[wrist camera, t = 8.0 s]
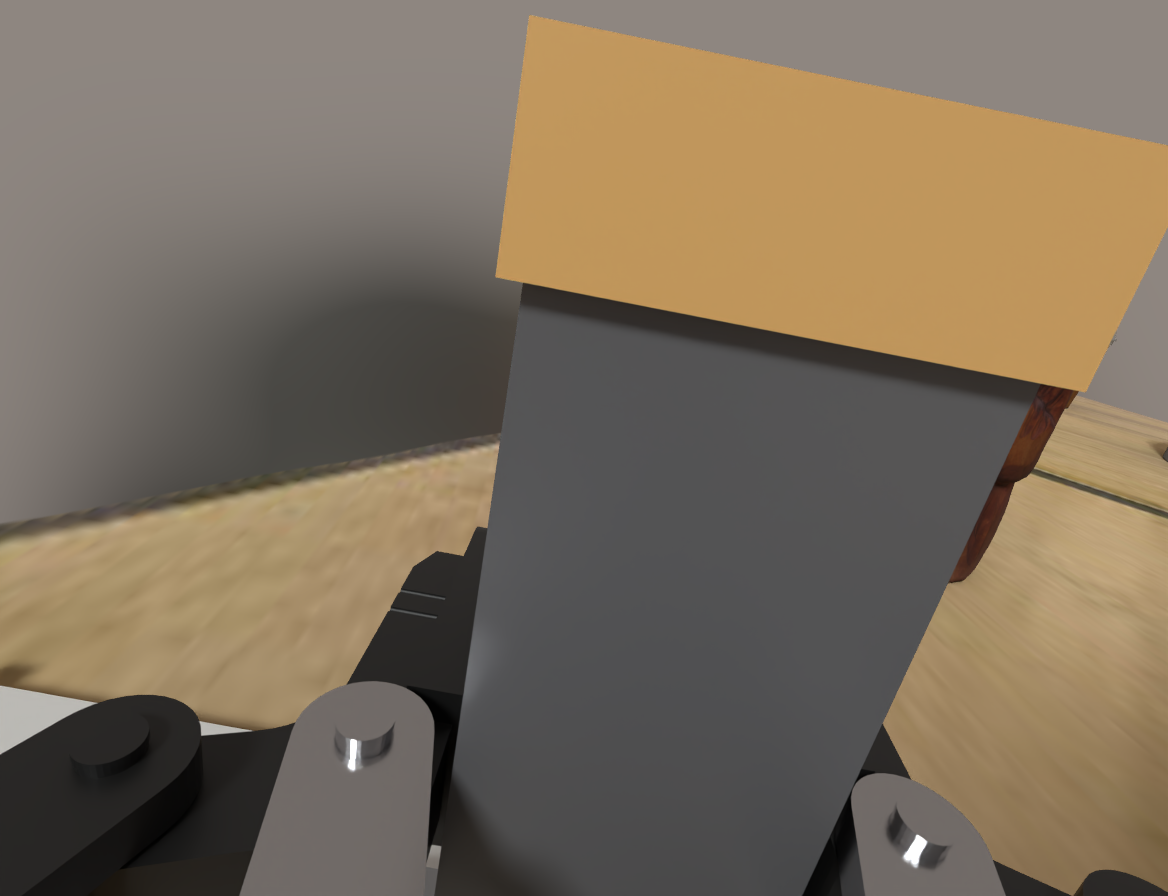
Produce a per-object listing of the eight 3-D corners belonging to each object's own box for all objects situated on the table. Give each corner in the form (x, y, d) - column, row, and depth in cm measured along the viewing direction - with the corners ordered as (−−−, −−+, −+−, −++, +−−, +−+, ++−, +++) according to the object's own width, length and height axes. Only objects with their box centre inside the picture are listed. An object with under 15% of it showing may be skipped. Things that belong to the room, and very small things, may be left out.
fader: (643, 971, 12) (919, 181, 7) (654, 1314, 8) (1274, 151, 3) (437, 935, 12) (563, 111, 7) (356, 1266, 8) (501, -8, 3)
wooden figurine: (759, 503, 38) (859, 188, 32) (799, 482, 43) (894, 205, 36) (969, 601, 31) (1152, 228, 25) (990, 563, 36) (1147, 242, 30)
